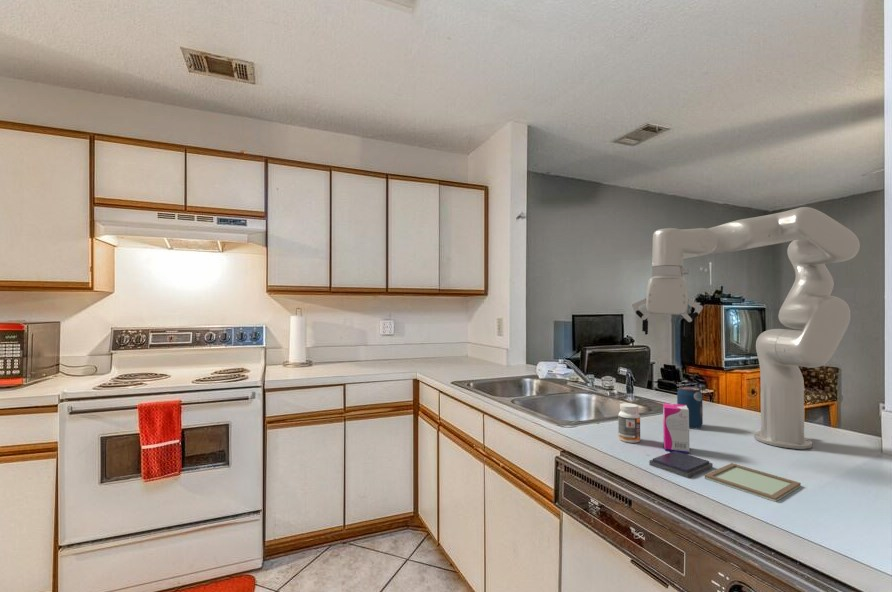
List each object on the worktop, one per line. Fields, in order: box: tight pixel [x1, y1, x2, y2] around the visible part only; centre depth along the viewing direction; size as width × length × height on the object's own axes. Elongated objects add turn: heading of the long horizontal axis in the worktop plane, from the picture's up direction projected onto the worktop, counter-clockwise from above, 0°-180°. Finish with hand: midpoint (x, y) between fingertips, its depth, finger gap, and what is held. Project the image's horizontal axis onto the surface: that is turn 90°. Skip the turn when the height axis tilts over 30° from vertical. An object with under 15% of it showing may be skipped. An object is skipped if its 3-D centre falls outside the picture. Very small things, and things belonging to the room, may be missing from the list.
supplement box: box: [662, 402, 691, 455], centre depth 111 cm, size 6×6×12 cm
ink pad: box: [648, 451, 713, 479], centre depth 99 cm, size 11×9×2 cm
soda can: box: [676, 385, 704, 430], centre depth 132 cm, size 7×7×12 cm
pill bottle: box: [617, 402, 641, 444], centre depth 118 cm, size 6×6×10 cm
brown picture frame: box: [704, 462, 802, 502], centre depth 90 cm, size 13×13×1 cm
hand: (665, 335), depth 115 cm, fingers open, 9 cm apart
